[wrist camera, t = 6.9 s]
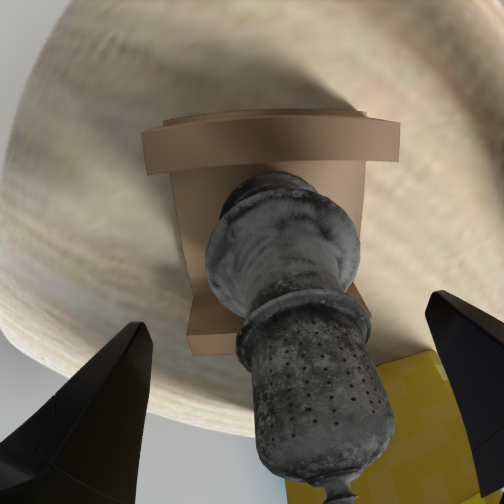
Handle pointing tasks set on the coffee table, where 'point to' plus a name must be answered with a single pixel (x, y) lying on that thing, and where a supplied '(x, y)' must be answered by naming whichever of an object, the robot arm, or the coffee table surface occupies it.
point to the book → (415, 444)
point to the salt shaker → (301, 331)
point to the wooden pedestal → (248, 166)
